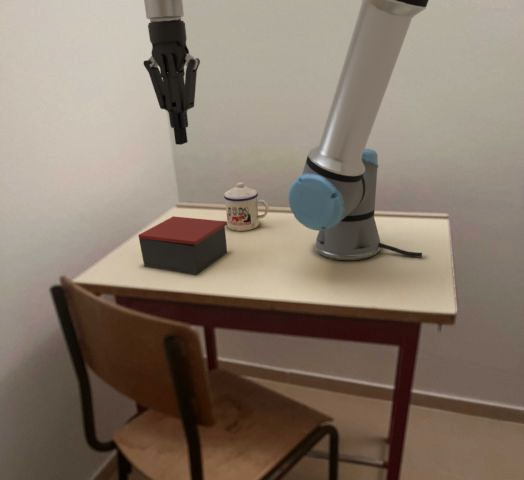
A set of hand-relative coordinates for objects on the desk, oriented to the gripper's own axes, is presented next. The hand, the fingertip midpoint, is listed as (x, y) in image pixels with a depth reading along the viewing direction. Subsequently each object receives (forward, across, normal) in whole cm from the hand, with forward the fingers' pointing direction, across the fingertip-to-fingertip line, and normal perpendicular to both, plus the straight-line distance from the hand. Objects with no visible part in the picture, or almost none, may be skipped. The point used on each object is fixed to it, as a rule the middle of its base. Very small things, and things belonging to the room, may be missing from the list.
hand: (181, 143), depth 117 cm
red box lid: (+18, -3, +8) cm, 20 cm away
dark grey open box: (+25, -2, +8) cm, 26 cm away
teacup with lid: (+25, -6, -18) cm, 32 cm away
